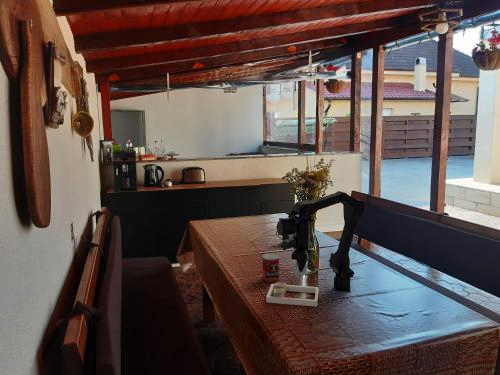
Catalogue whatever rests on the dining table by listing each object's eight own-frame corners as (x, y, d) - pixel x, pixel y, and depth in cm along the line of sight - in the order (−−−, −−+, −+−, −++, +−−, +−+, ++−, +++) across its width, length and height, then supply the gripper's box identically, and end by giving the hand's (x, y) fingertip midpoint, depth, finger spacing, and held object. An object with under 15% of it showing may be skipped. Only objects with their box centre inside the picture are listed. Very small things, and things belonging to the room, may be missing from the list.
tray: (318, 292, 174) (318, 287, 174) (316, 306, 161) (317, 301, 160) (271, 288, 178) (271, 283, 178) (266, 302, 165) (266, 297, 164)
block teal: (307, 271, 171) (307, 261, 170) (306, 275, 167) (306, 264, 166) (296, 270, 172) (296, 260, 171) (295, 274, 168) (295, 263, 167)
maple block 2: (283, 297, 169) (283, 288, 169) (283, 302, 165) (283, 292, 165) (273, 297, 169) (273, 288, 169) (273, 301, 165) (273, 292, 165)
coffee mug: (295, 241, 249) (295, 225, 248) (295, 245, 241) (295, 228, 239) (276, 241, 250) (276, 225, 249) (275, 245, 242) (275, 228, 240)
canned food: (265, 283, 184) (265, 259, 183) (260, 276, 192) (260, 254, 190) (281, 281, 186) (281, 257, 185) (275, 275, 194) (276, 252, 192)
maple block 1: (286, 292, 175) (286, 283, 174) (284, 295, 171) (284, 286, 170) (277, 291, 176) (277, 282, 175) (274, 294, 172) (274, 285, 172)
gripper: (285, 226, 178) (285, 261, 180) (278, 237, 160) (278, 276, 162) (311, 227, 175) (311, 263, 178) (307, 239, 157) (306, 278, 160)
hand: (301, 269), depth 169 cm, fingers closed on block teal, 4 cm apart
